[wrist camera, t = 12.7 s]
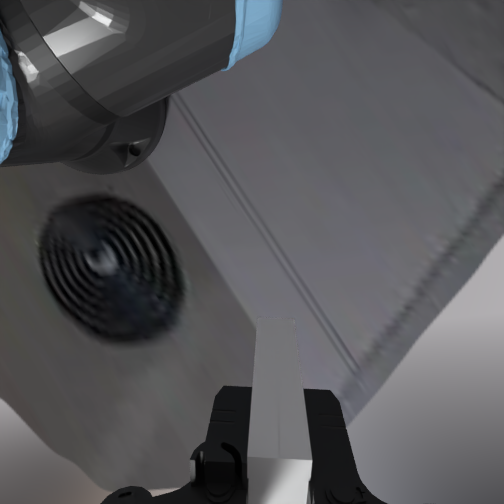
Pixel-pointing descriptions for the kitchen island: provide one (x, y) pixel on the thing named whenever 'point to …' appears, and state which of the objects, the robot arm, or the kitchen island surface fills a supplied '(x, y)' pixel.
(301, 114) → the kitchen island surface
